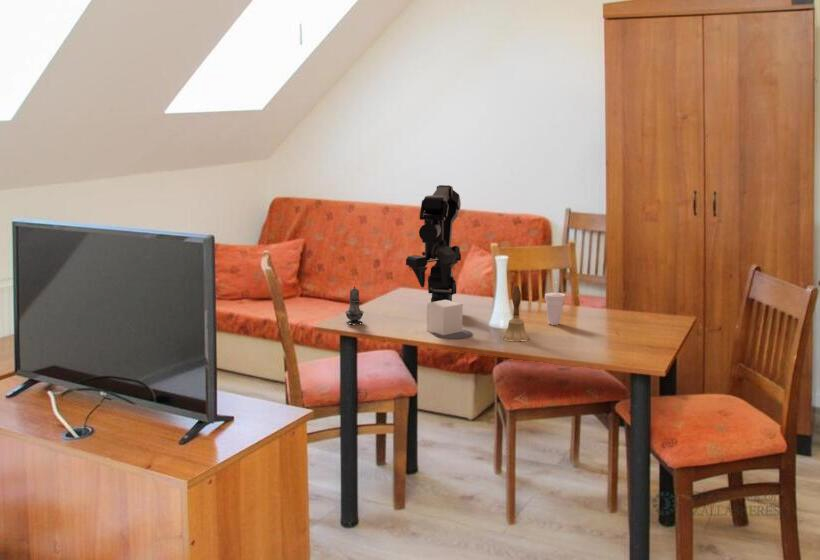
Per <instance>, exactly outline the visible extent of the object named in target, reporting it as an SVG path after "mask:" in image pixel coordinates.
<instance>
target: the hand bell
mask: <svg viewBox="0 0 820 560" xmlns="http://www.w3.org/2000/svg"><path fill="white" fill-rule="evenodd" d="M511 298H512V305H513V318H512V319H509V320H508V325H507V329H506V331H505V333H504V334H502V336H501V338H503V339H502V340H504V339H507V340H513V341H521V340H527V339H529V338H530V335H529V334H528V333H527V332H526V329H525V324H524V322H525V321H524V320H523V319H521V318H520V306H521V305H520V304H521V301H522V294H521V290H520V286H519V285H514V288H513V291H512V294H511ZM507 340H506V341H507ZM529 340H530V339H529ZM513 341H512V342H513ZM527 341H528V340H527Z"/></svg>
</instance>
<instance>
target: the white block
mask: <svg viewBox="0 0 820 560" xmlns="http://www.w3.org/2000/svg"><path fill="white" fill-rule="evenodd" d="M463 307H464V305H463V303H460V302H457V301H453V300H452V301H449V300H441V301H435V302H431V301H430V302H427V303H426V331H427V332H429V333H432V334H433V332H434V333H438V334H441V335H447V334H452V333H457V332H462V329H463Z"/></svg>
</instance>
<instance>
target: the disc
mask: <svg viewBox="0 0 820 560" xmlns="http://www.w3.org/2000/svg"><path fill="white" fill-rule="evenodd" d="M432 334H433V336H435V337H437V338H441V339H445V338H446V339H447V340H464V339H468V338H470V337H473V335H474V333H473V332H472V331H471V330H468V329H464V328H462V332H457V333H452V334H447V335H441V334H438V333H434V332H433V333H432Z"/></svg>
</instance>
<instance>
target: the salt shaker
mask: <svg viewBox="0 0 820 560" xmlns="http://www.w3.org/2000/svg"><path fill="white" fill-rule="evenodd" d="M348 301H349V308H348V310H346V311H344V313H345V316H346V318H347V319H348V323H351V324H360V323H361V324H360V325H363V324H362V323H363V321H362V320H361V319H362V318H363V314H365V312H364V311H363V310H361V307H360V301H361V299H360V290H359V289H358V288H356V286H355V285H354V286H353V288H352V289H350V291H349V300H348Z"/></svg>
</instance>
